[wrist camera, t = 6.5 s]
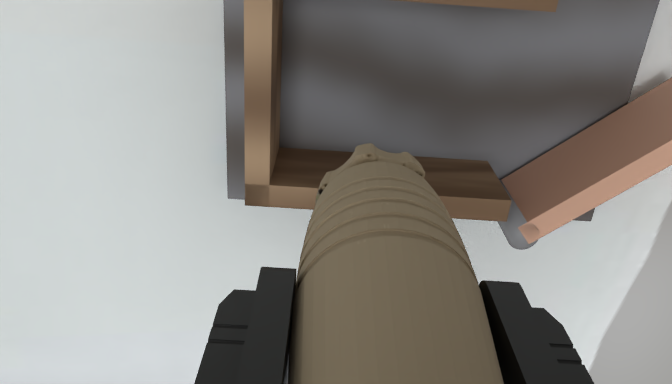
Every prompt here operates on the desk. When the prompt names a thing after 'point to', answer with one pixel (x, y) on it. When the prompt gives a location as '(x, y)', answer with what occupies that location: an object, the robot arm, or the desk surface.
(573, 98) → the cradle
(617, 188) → the gate
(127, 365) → the desk surface
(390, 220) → the handle
